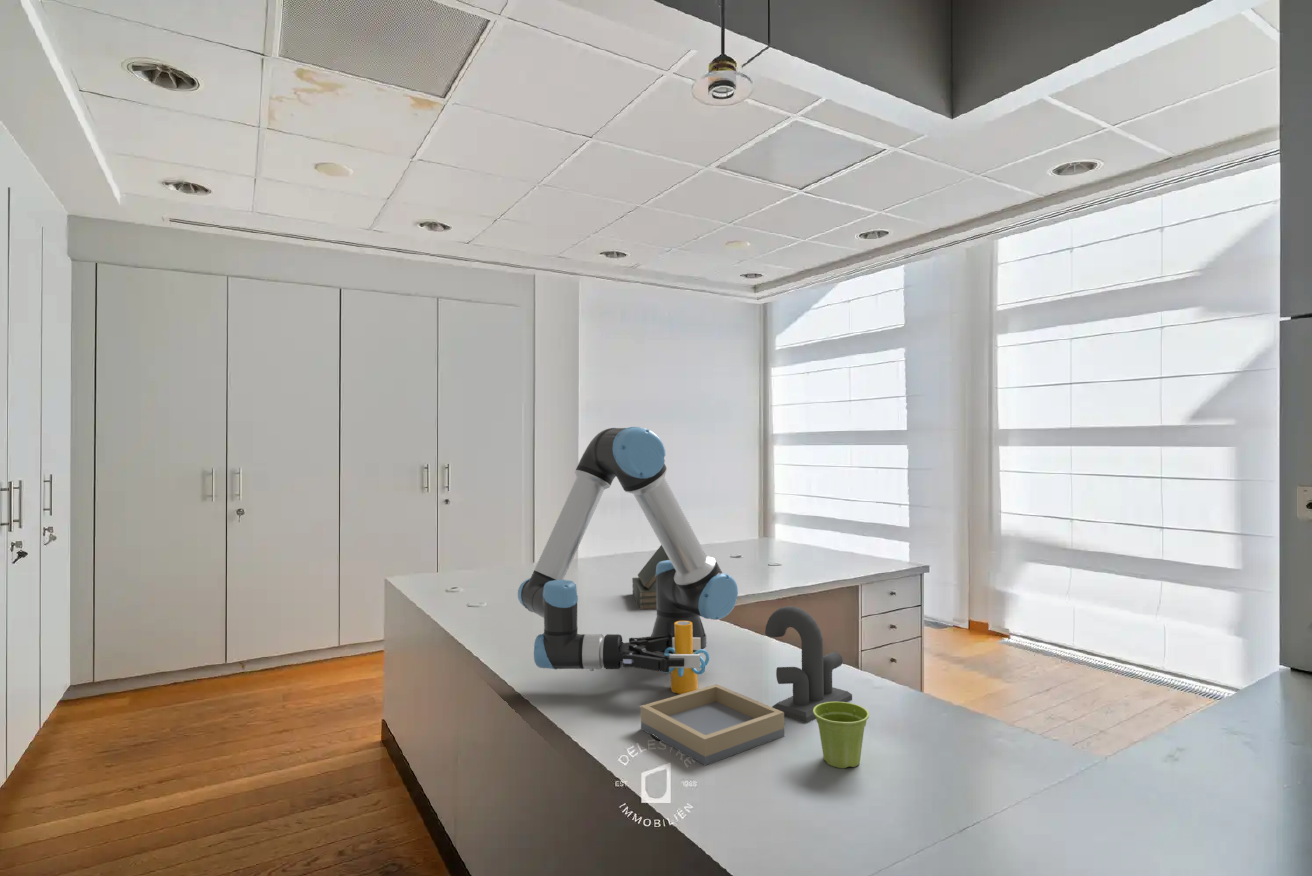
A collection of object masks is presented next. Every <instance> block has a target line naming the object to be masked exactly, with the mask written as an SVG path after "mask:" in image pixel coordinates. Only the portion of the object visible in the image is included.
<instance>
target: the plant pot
mask: <svg viewBox="0 0 1312 876" xmlns="http://www.w3.org/2000/svg"><path fill="white" fill-rule="evenodd" d="M813 713H814V715H815V716H816V720H815V721H816V722H817V726H818V731H819V737H820V742H821V743H820V744H821V749H822V750H821V751H822V756H823V760H824V761H825V762H826V763H827V765H829V766H831V767H834V768H838V769H847V768H850V767H852V768H855V767H857V766H859V765H860V762H861V755H862V748H863V742H864V741H863V740H864V732H865V727H866V726H867V721H868V719H869V718H870V713H869V710H868V709H866V708H865V707H864V706H861V705H858V704H856V703H852V702H849V701H848V702H825V703H821V704H818V705H817V706H815V707H814V709H813Z"/></svg>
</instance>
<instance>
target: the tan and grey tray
mask: <svg viewBox="0 0 1312 876" xmlns="http://www.w3.org/2000/svg"><path fill="white" fill-rule="evenodd" d="M640 729H641V730H642V729H643V730H642V731H644V732H645V731H646V732H645V733H647V732H648V733H647V734H649V735H651V734H654V735H655V736H657V737H658V738H659V739H658V738H657V739H658V740H660V741H661V742H663V743H665V744H666V745H668V746H670V747H673V748H674V749H675V750H677V751H679V752H681V753H682V754H684V755H686V756H688V757H690V758H692V759H693V760H695V761H696V762H699V763H700V764H702V765H704V766H707V765H710V764H712V763H715V762H718V761H721V760H723V759H726V758H729V757H732V756H734V755H737V754H740V753H742V752H745V751H748V750H750V749H751V750H752V749H753V748H756V747H759V746H761V745H765V744H766V743H770V742H772V741H775V740H777V739H781V738H783V737H785V716H784V712H782V711H780V710H777V709H775V708H773V707H772V706H770V705H768V704H765V703H763V702H761V701H759V700H755V699H753V698H751V697H748V696H746V695H744V694H742V693H738V692H736V691H735V690H732V689H729V688H727V687H724V686H722V685H721V684H720V685H719V684H717V683H716V684H713V685H709V686H706V687H701V688H698V690H694V691H691V692H688V693H684V694H677V695H674V696H671V697H667V698H664V699H660V700H657V701H653V702H651V703H646V704H643V705H640Z"/></svg>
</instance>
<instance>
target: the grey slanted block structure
mask: <svg viewBox="0 0 1312 876" xmlns="http://www.w3.org/2000/svg"><path fill="white" fill-rule="evenodd" d="M666 560H670V559H669V558H668V556H667V554H666V552H665V550H664V548H663V547H662V545H661V544H660V546H659V547H658V548H657V549H656V551H655V552H654V554H653V555H652V556H651V557H650V558H649V560H648V561H647V562H646V564H645V565H644V566H643V568H641V570H640V571H639V572H638V574H637V577H632V580H631V581H632V595H633V596H632V597H633V598H634V600H635V602H636V605H637V606H638V609H639V608H640V609H639V610H640V611H641V610H657V609H656V608H657V604H656V577H655V575H656V566H657V564H658V563H659V562H661V561H666Z"/></svg>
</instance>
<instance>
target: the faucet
mask: <svg viewBox="0 0 1312 876" xmlns="http://www.w3.org/2000/svg"><path fill="white" fill-rule="evenodd" d="M788 628H793V629H794V630H795V631H796V632H797V634H799V637H800V640H801V644H800V645H801V668H799V667H797V666H779V667H776V671H775V672H776V673H775V674H776V681H777V684H778V685H788V684H789V685H790V684H792V695H791V696H790V697H788V698H787V697H786V699H783V700H781V701H779V702H777V703H775V704H774V705H772V706H771V707H773V708H775V709H777V710H780V711H782V712H784V717H786V718H790V719H792V720H797V721H798V722H799V721H800V722H802V723H806V724H808V723H810V722H811V721H813V720H815V719H816V716H815V715H814V713H813V709H814V707H815V706H817V705H818V704H821V703H825V702H848V703H849V702H850V701H852V700H853V693H851V692H850V691H848V690H843V689H841V688H838V687H833V670H836V669H837V668H839V667H841V666H842V665H843V657H842V655H841V654H840V653H839V652H837V651H832V652H829V653H827V654H825V655H824V641H823V640H824V639H823V634H822V631H821V628H820V627H819V625H818V623H817V621H816V620H815V618H814V617H813V616H812V615H811V614H810V613H808V612H807V611H806V610H805V609H802V608H800V607H798V606H793V605H791V606H790V605H788V606H787V605H785V606H783V607H782V606H781V607H780V608H778V609H776V610H775V611H774V612H772V613H771V614H770V616H769V617H768V619H767V623H766V624H765V631H764V634H765V635H766V636H767V637H768V638H782V637H784V636H785V635H786V632H787V630H788Z"/></svg>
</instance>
